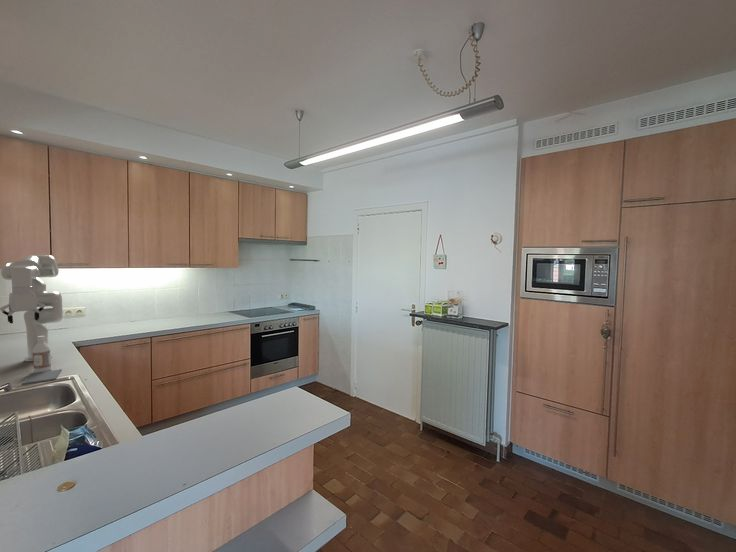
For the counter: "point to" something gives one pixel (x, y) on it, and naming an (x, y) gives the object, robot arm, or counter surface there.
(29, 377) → the mat
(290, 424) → the counter surface
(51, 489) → the counter surface
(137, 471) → the counter surface
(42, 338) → the bath foam
